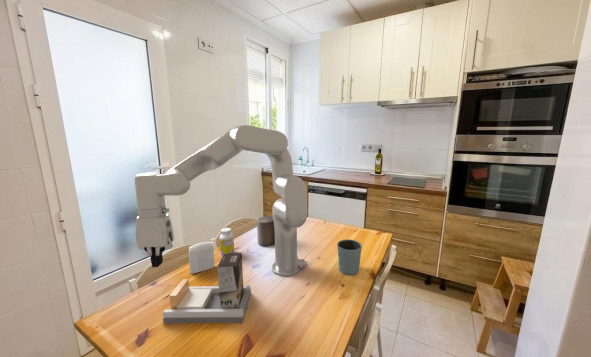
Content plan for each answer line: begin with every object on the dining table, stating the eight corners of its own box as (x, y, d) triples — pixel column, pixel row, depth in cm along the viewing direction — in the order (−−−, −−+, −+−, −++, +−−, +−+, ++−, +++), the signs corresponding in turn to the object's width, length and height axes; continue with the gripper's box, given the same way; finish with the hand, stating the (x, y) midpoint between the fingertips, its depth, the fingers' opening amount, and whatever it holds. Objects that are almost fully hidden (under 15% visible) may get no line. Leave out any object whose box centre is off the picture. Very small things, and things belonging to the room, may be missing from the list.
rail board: (251, 293, 89) (250, 282, 88) (242, 322, 75) (241, 309, 74) (183, 294, 89) (182, 283, 88) (163, 323, 75) (161, 310, 74)
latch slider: (212, 293, 86) (210, 278, 85) (202, 312, 77) (200, 295, 76) (184, 294, 86) (182, 279, 85) (171, 312, 77) (169, 295, 76)
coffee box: (240, 311, 77) (237, 266, 75) (220, 313, 77) (216, 267, 74) (244, 293, 86) (242, 252, 84) (226, 294, 86) (223, 253, 83)
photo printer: (213, 263, 110) (211, 238, 108) (216, 267, 107) (214, 241, 104) (189, 270, 105) (186, 244, 102) (191, 275, 101) (188, 248, 99)
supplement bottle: (220, 252, 121) (218, 228, 119) (233, 249, 124) (231, 226, 121) (221, 258, 115) (219, 233, 113) (235, 255, 118) (234, 230, 115)
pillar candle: (279, 241, 132) (278, 215, 130) (267, 248, 124) (266, 220, 122) (265, 238, 138) (264, 213, 135) (253, 244, 130) (252, 217, 127)
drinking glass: (362, 267, 106) (363, 241, 104) (358, 279, 97) (359, 251, 95) (340, 262, 110) (340, 237, 108) (334, 273, 101) (334, 247, 99)
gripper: (181, 208, 80) (185, 259, 83) (136, 208, 80) (142, 259, 83) (169, 215, 72) (174, 271, 75) (120, 215, 72) (126, 271, 75)
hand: (157, 265), depth 79 cm, fingers closed
